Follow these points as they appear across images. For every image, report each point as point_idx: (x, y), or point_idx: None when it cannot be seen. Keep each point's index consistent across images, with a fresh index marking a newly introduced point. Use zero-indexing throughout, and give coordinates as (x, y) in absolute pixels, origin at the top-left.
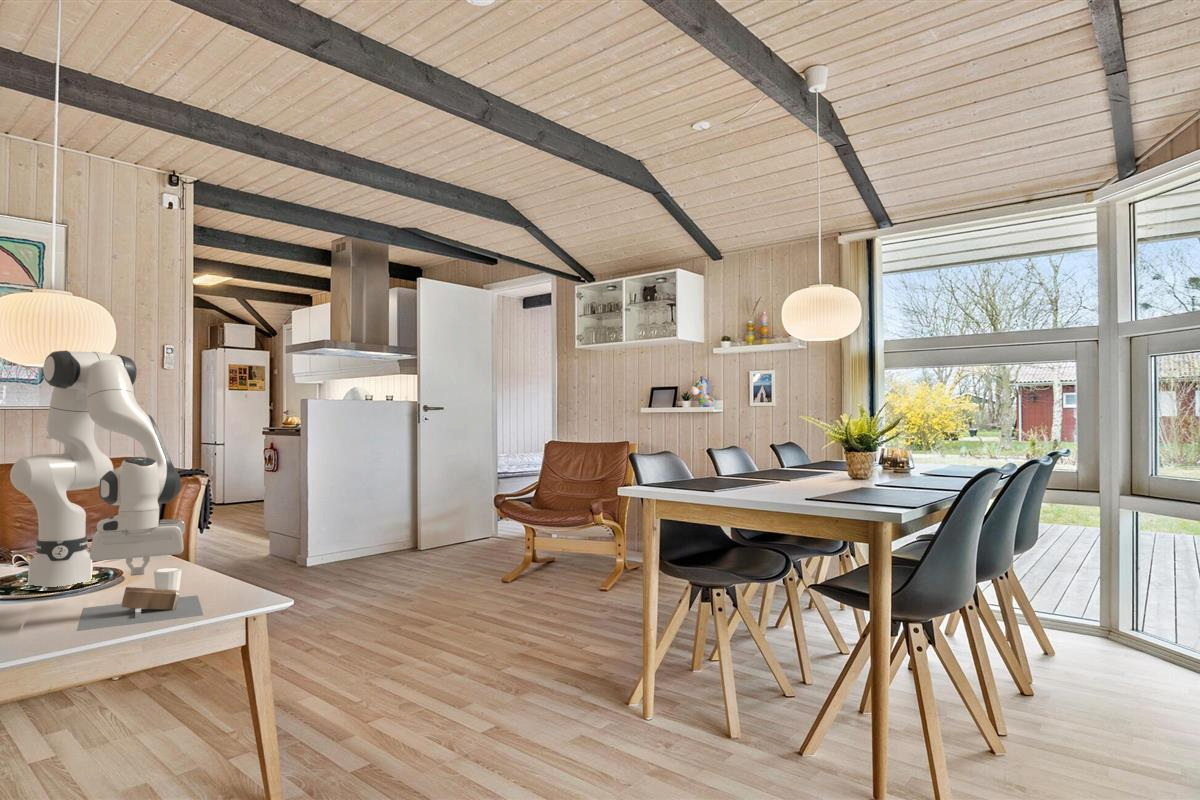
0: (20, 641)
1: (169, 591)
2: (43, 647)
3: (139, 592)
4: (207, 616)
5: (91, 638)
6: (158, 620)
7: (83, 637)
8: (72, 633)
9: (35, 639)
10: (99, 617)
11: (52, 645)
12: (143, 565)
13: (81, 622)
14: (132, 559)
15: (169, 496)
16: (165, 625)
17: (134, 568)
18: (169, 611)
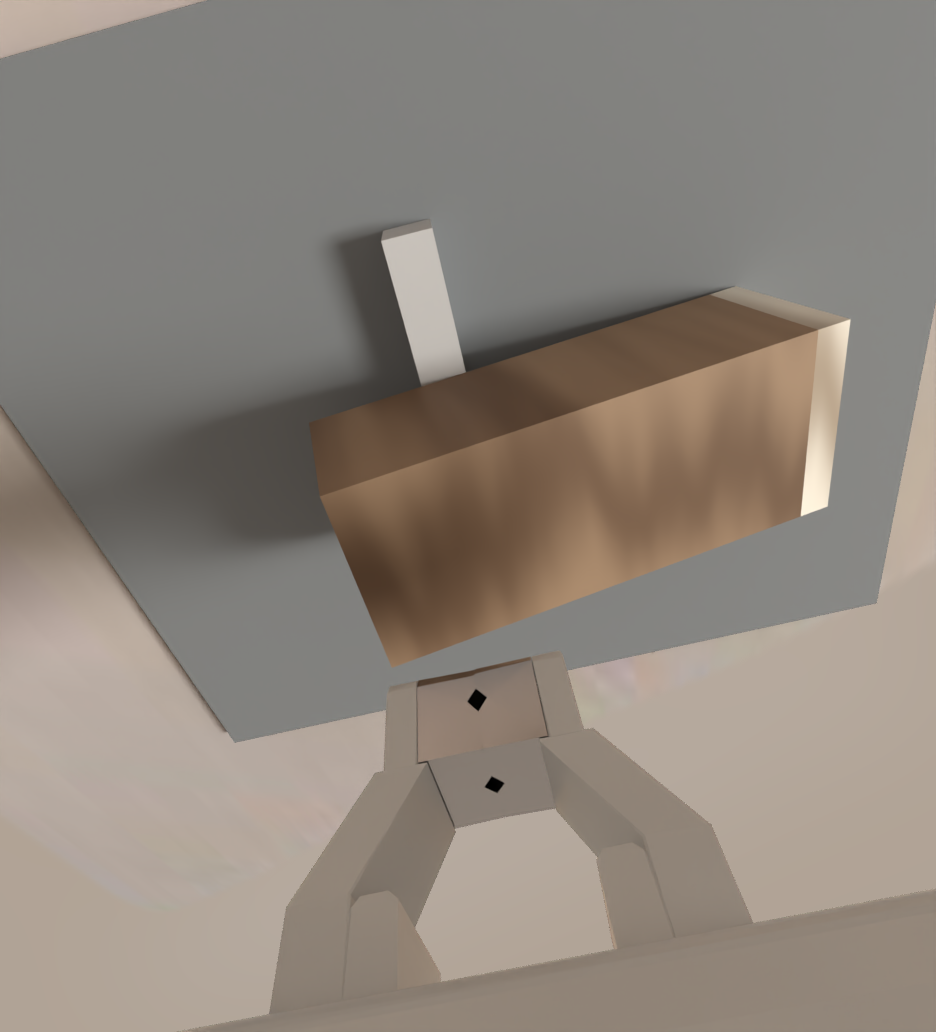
0: (17, 788)
1: (755, 439)
2: (200, 854)
3: (506, 623)
4: (892, 576)
5: (353, 794)
6: (627, 654)
7: (307, 779)
8: (212, 725)
9: (74, 775)
10: (219, 525)
11: (224, 841)
12: (595, 846)
13: (158, 611)
14: (420, 972)
15: None
16: (660, 685)
17: (458, 815)
18: None
